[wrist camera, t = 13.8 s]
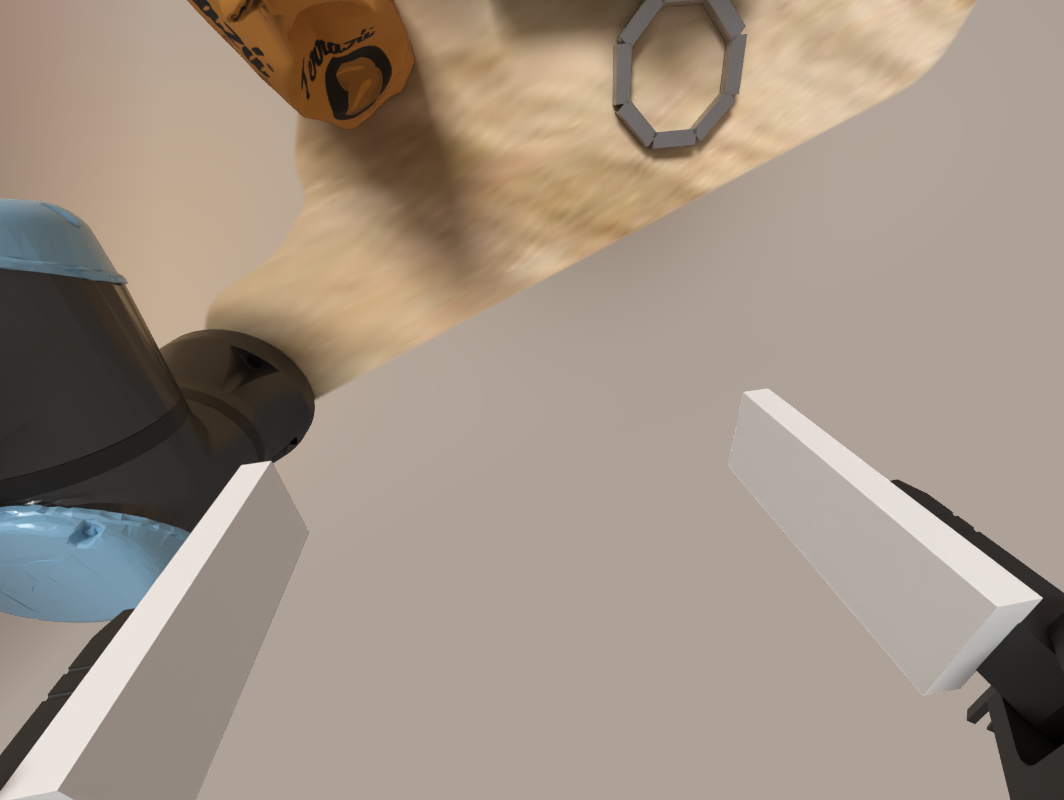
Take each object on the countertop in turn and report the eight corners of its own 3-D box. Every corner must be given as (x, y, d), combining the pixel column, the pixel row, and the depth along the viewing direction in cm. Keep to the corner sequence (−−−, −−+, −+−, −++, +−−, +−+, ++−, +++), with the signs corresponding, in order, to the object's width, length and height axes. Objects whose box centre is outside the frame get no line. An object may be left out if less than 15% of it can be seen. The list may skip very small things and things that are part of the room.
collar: (611, 152, 37) (615, 152, 36) (614, -12, 32) (618, -16, 31) (725, 141, 38) (731, 141, 37) (747, -20, 32) (755, -25, 32)
